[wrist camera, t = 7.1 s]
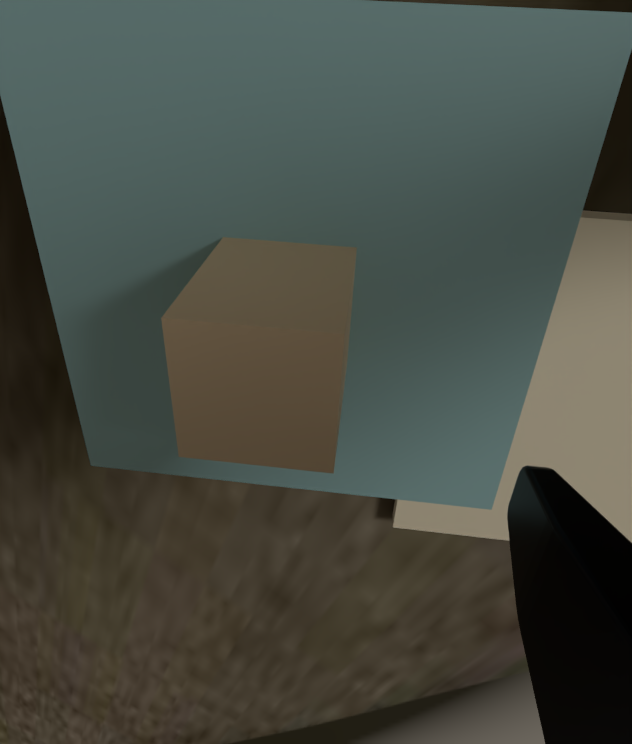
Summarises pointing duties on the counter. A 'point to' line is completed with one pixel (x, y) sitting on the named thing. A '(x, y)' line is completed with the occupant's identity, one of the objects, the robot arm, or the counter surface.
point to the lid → (306, 226)
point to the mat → (570, 392)
